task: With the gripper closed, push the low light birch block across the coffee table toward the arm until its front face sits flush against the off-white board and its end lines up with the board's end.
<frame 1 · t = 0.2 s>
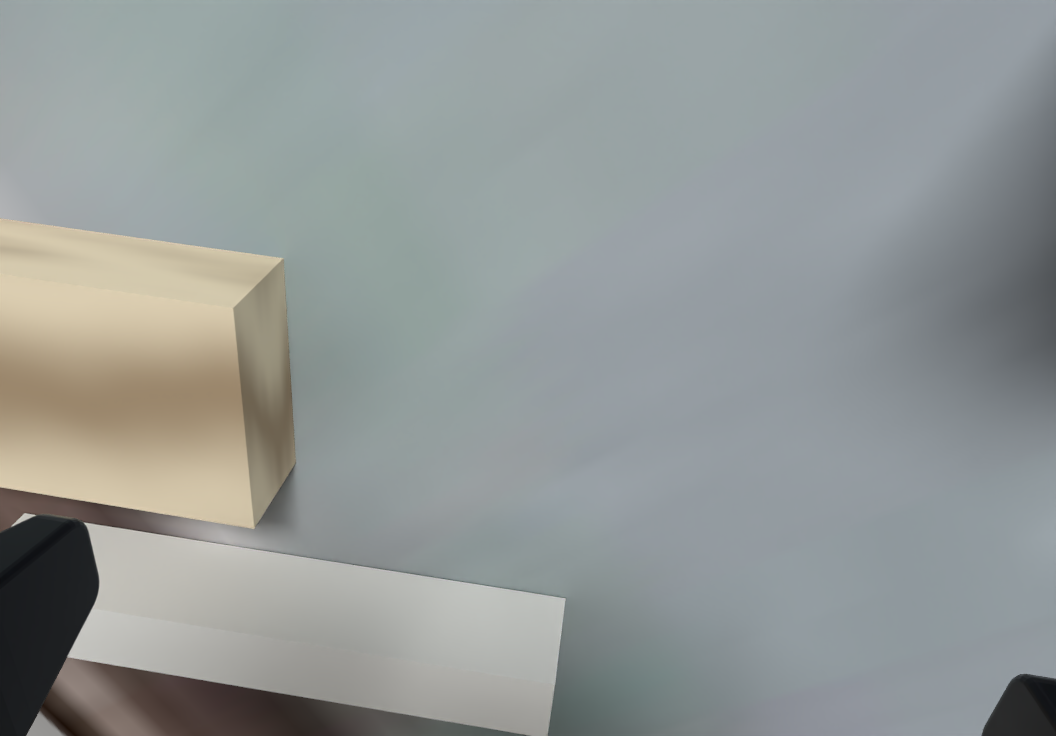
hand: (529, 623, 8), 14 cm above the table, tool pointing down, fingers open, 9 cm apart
birch block: (134, 338, 25), on the table
off-white board: (291, 581, 29), on the table
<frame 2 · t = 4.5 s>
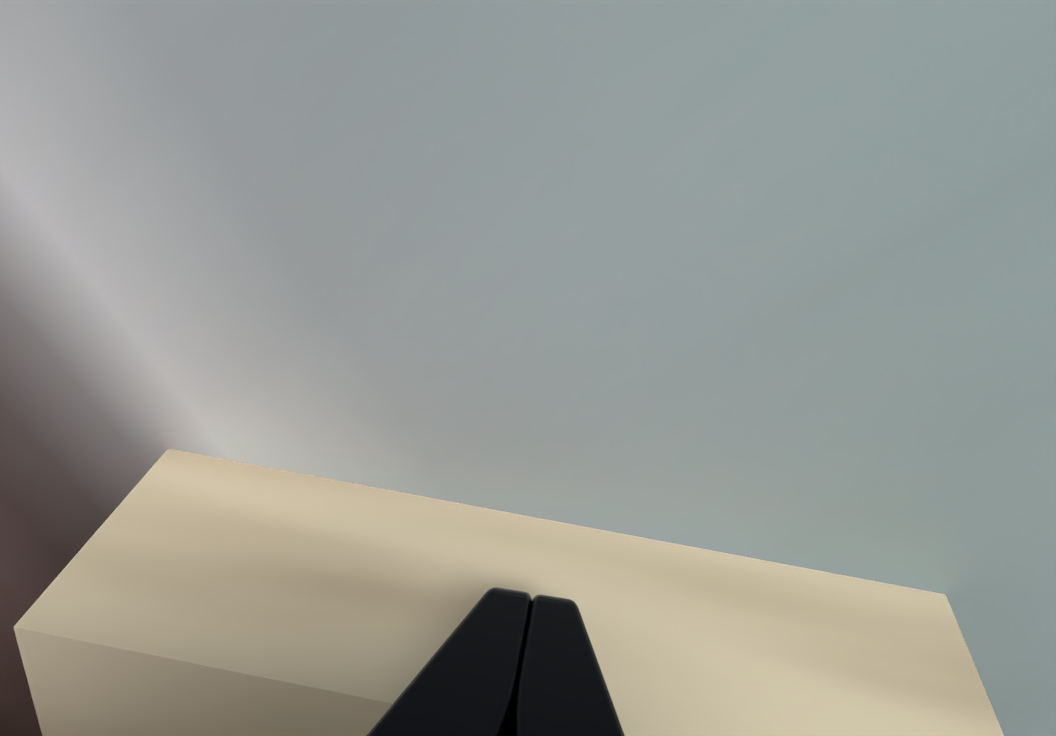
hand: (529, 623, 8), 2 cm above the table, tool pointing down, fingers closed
birch block: (519, 674, 13), on the table
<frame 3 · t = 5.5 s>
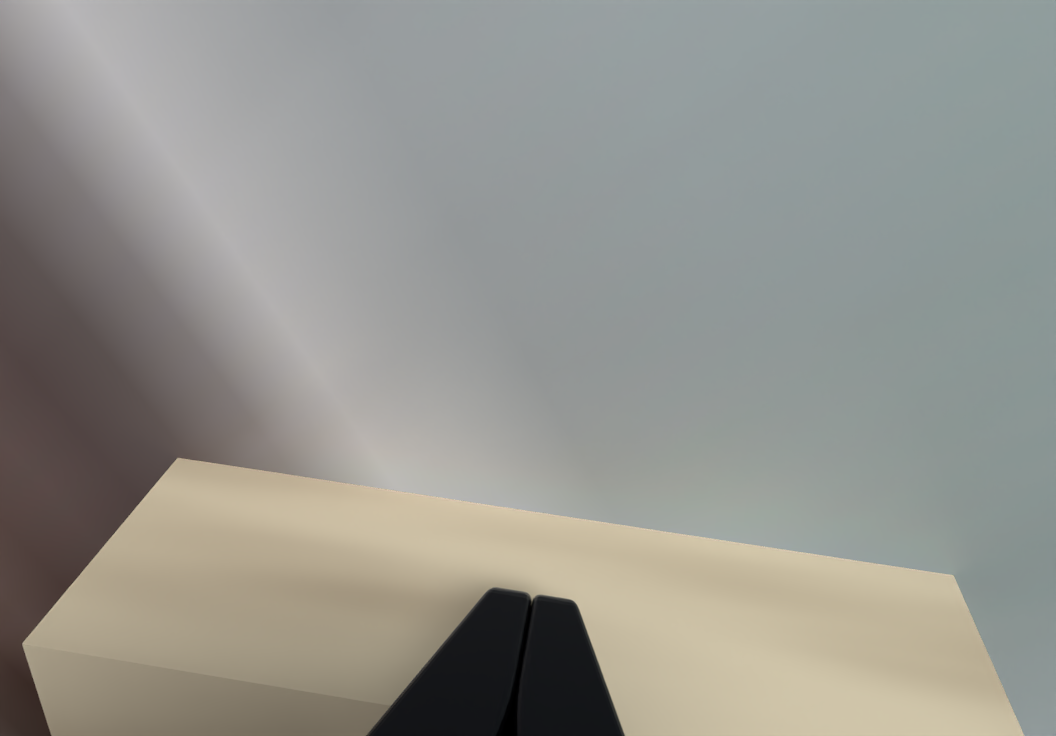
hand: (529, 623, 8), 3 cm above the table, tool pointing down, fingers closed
birch block: (532, 676, 13), on the table
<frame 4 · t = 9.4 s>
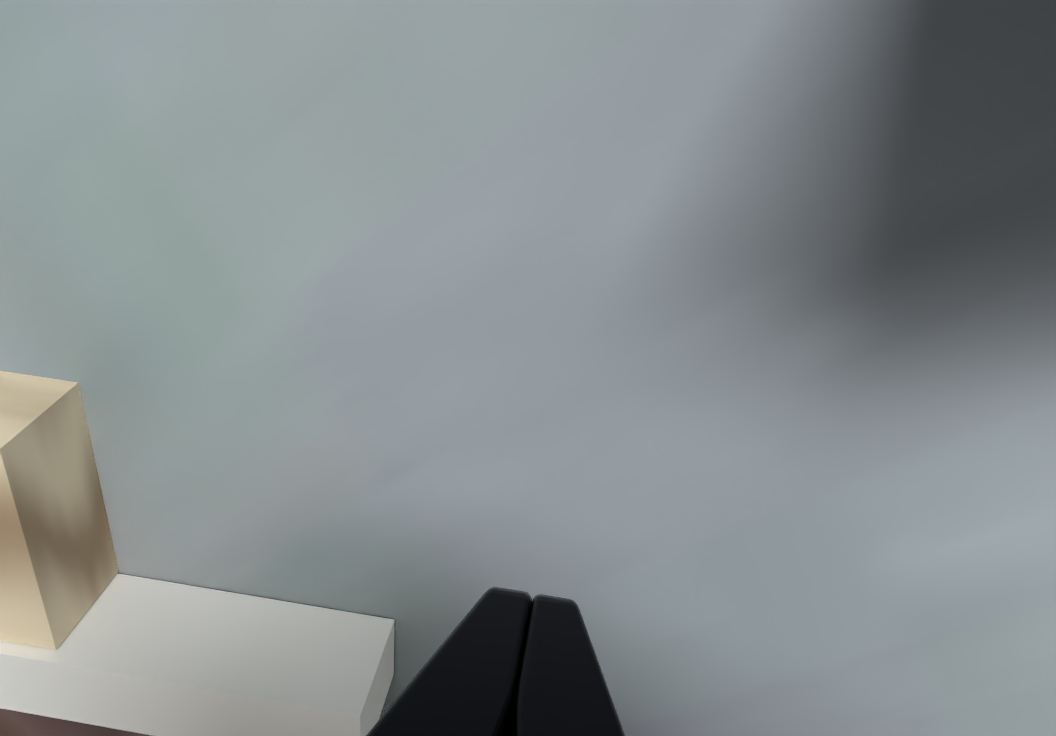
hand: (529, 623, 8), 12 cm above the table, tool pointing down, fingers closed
off-white board: (106, 599, 27), on the table
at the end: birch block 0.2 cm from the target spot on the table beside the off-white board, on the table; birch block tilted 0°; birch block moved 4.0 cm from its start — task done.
